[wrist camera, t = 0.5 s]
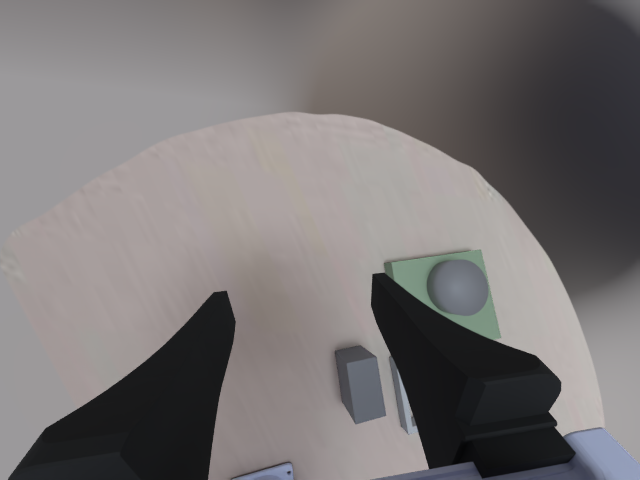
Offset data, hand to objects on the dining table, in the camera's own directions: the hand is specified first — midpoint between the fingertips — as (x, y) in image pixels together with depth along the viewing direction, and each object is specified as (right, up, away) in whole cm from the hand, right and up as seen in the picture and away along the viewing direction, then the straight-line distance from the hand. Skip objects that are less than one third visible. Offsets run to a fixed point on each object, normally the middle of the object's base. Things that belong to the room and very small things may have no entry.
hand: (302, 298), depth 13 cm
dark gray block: (+5, -17, +25) cm, 30 cm away
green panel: (+20, -12, +28) cm, 36 cm away
